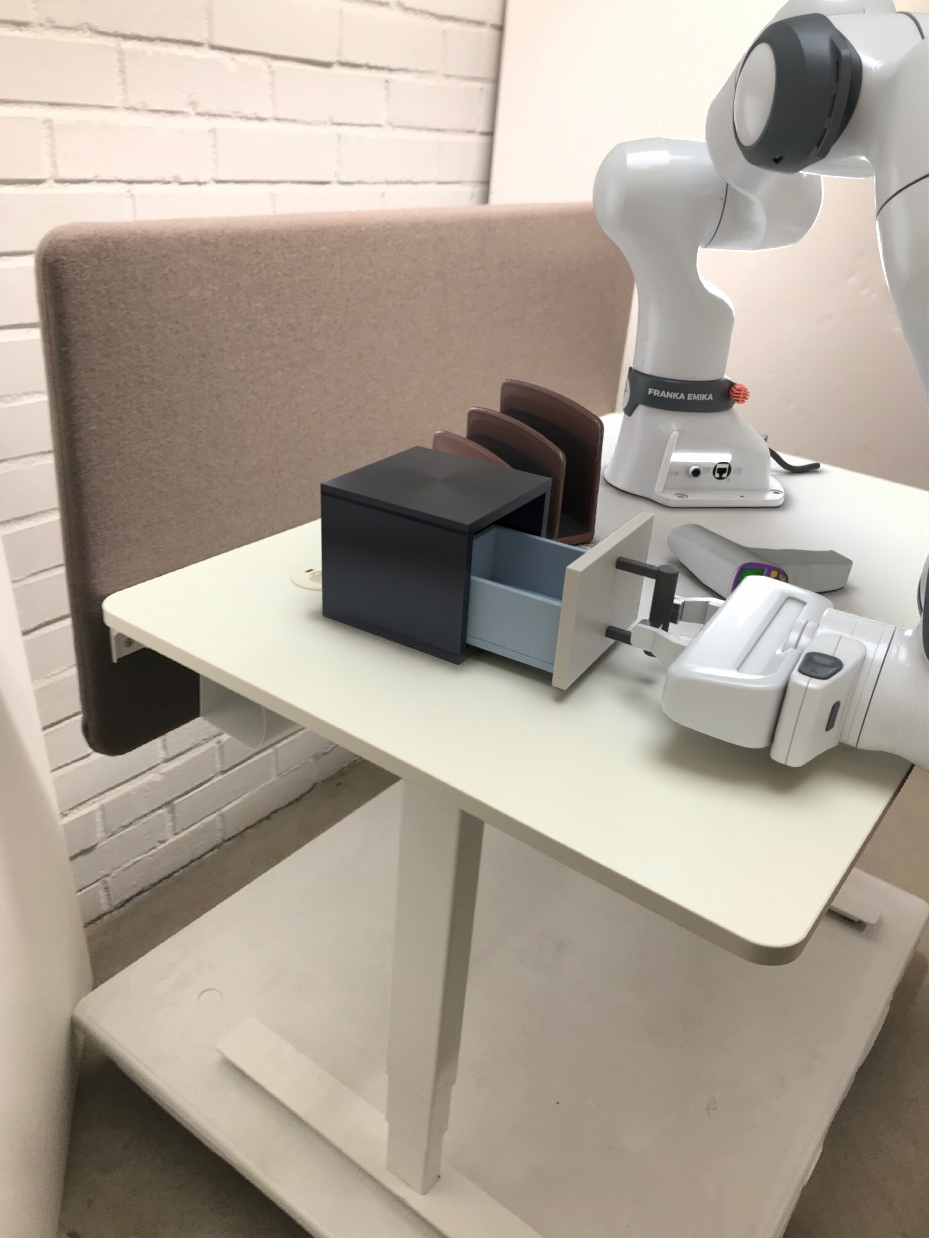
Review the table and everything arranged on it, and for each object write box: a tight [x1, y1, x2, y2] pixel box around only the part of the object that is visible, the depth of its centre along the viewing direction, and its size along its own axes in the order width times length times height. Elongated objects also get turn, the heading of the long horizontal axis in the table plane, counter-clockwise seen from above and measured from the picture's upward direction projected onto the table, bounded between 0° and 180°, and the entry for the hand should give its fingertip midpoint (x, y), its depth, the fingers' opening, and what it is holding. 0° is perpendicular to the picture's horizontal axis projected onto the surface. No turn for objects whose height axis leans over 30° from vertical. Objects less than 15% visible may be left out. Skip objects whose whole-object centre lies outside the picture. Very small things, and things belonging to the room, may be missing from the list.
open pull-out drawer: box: [466, 510, 680, 691], centre depth 73 cm, size 19×14×10 cm
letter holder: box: [431, 378, 605, 546], centre depth 99 cm, size 10×20×14 cm, turn 29°
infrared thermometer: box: [666, 523, 854, 600], centre depth 91 cm, size 5×12×15 cm
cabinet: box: [319, 445, 552, 665], centre depth 78 cm, size 14×14×12 cm
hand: (648, 617), depth 70 cm, fingers open, 4 cm apart
